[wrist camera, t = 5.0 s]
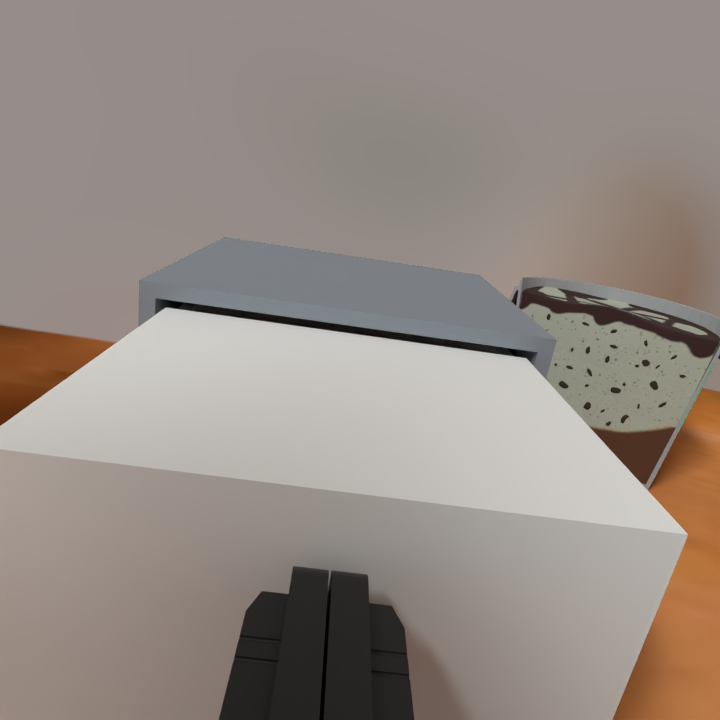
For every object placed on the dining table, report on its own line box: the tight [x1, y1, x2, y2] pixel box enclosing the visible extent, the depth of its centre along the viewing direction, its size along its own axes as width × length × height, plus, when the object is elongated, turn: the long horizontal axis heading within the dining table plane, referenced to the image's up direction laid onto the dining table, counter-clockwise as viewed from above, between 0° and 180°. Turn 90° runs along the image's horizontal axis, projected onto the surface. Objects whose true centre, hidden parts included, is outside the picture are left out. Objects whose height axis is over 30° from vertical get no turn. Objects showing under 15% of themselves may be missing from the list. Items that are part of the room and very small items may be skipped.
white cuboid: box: [0, 302, 688, 720], centre depth 24 cm, size 25×14×8 cm, turn 1°
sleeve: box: [139, 237, 557, 379], centre depth 29 cm, size 14×16×10 cm
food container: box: [509, 277, 720, 490], centre depth 34 cm, size 12×6×10 cm, turn 51°
